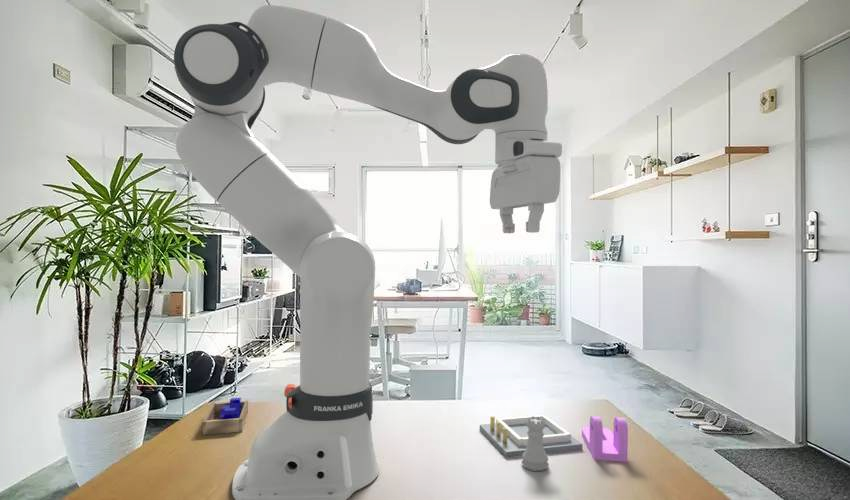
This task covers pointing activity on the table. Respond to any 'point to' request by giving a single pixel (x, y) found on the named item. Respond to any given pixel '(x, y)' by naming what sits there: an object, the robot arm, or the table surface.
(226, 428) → the box
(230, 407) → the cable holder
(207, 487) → the table surface
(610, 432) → the bracket
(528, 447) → the rook chess piece
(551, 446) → the board
